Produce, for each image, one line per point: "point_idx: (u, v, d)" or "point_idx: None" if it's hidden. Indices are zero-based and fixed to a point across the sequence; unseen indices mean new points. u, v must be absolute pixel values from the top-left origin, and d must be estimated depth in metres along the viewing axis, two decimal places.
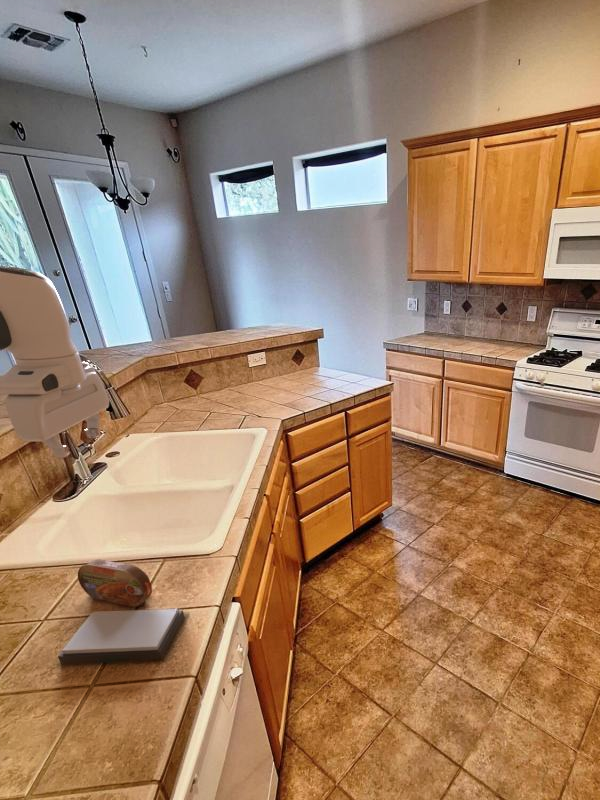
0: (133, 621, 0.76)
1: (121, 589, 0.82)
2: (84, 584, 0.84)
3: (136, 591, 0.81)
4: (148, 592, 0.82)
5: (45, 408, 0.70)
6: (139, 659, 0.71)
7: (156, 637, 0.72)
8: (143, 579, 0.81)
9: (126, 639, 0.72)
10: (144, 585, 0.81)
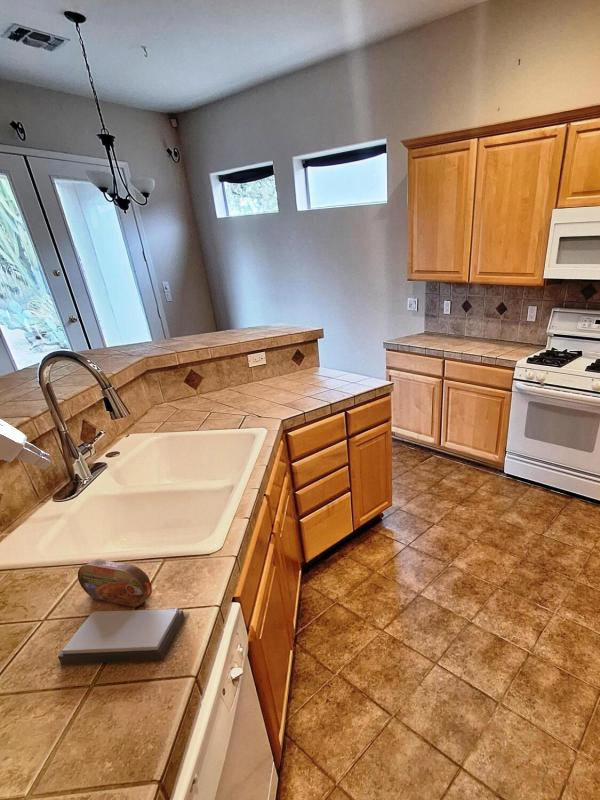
0: (133, 621, 0.76)
1: (121, 589, 0.82)
2: (84, 584, 0.84)
3: (136, 591, 0.81)
4: (148, 592, 0.82)
5: None
6: (139, 659, 0.71)
7: (156, 637, 0.72)
8: (143, 579, 0.81)
9: (126, 639, 0.72)
10: (144, 585, 0.81)
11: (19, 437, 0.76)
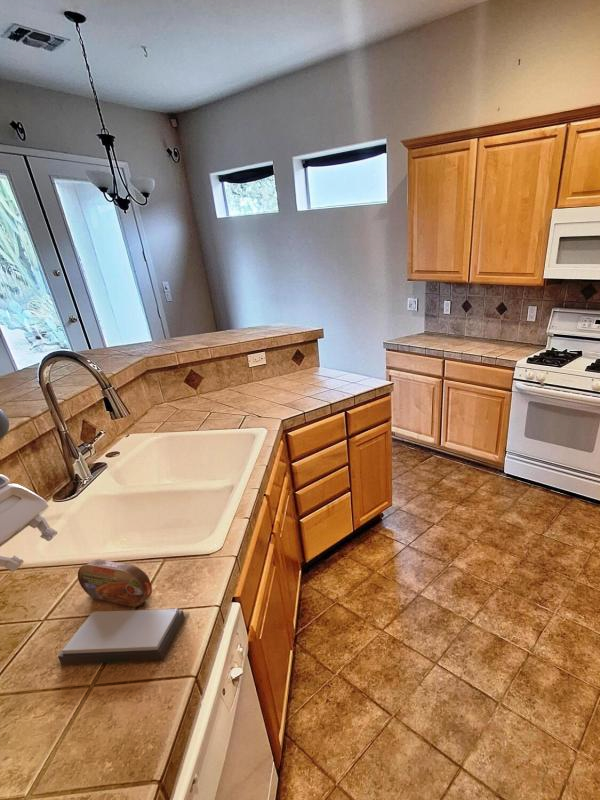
0: (133, 621, 0.76)
1: (121, 589, 0.82)
2: (84, 584, 0.84)
3: (136, 591, 0.81)
4: (148, 592, 0.82)
5: None
6: (139, 659, 0.71)
7: (156, 637, 0.72)
8: (143, 579, 0.81)
9: (126, 639, 0.72)
10: (144, 585, 0.81)
11: (2, 531, 0.75)
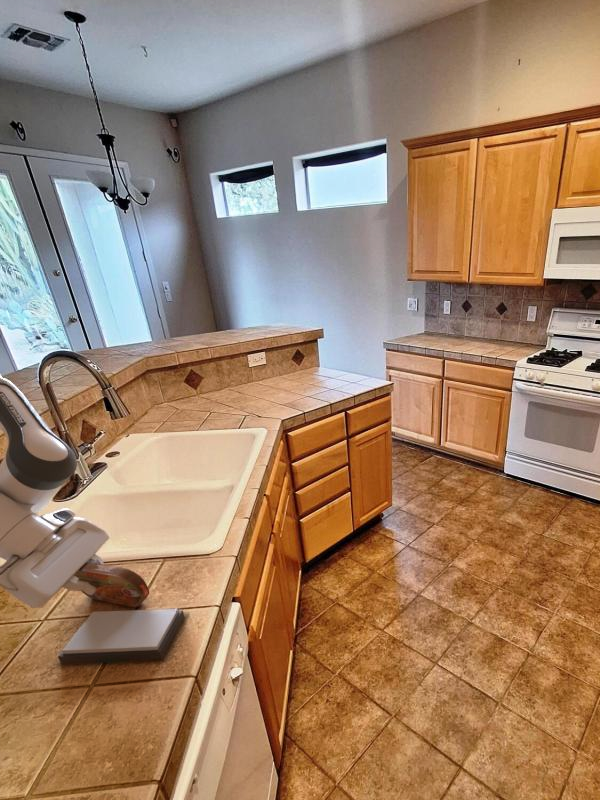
0: (133, 621, 0.76)
1: (118, 591, 0.81)
2: None
3: (133, 593, 0.81)
4: (145, 593, 0.81)
5: None
6: (139, 659, 0.71)
7: (156, 637, 0.72)
8: (138, 582, 0.80)
9: (126, 639, 0.72)
10: (139, 588, 0.80)
11: (73, 565, 0.79)
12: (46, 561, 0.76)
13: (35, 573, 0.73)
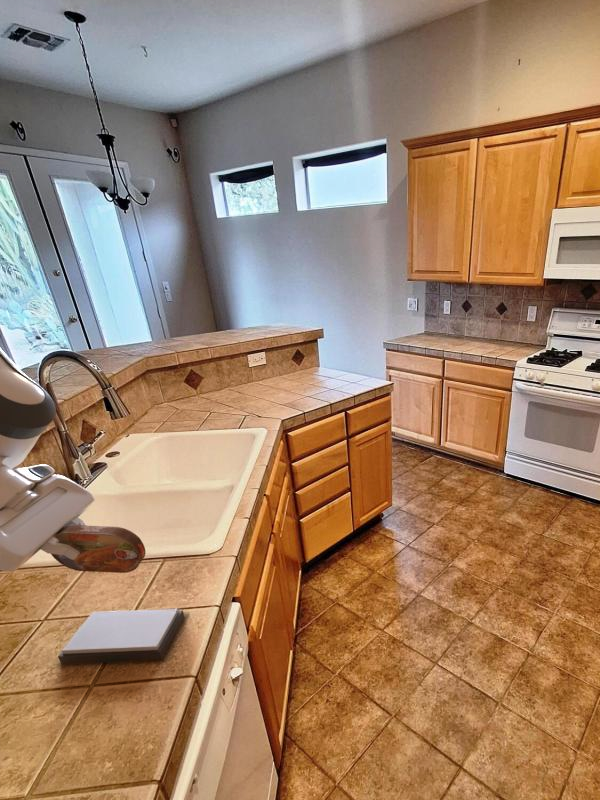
0: (133, 621, 0.76)
1: (108, 555, 0.72)
2: (57, 555, 0.73)
3: (128, 554, 0.72)
4: (142, 554, 0.73)
5: None
6: (139, 659, 0.71)
7: (156, 637, 0.72)
8: (135, 541, 0.72)
9: (126, 639, 0.72)
10: (137, 548, 0.72)
11: (51, 526, 0.69)
12: (18, 519, 0.66)
13: (6, 532, 0.63)
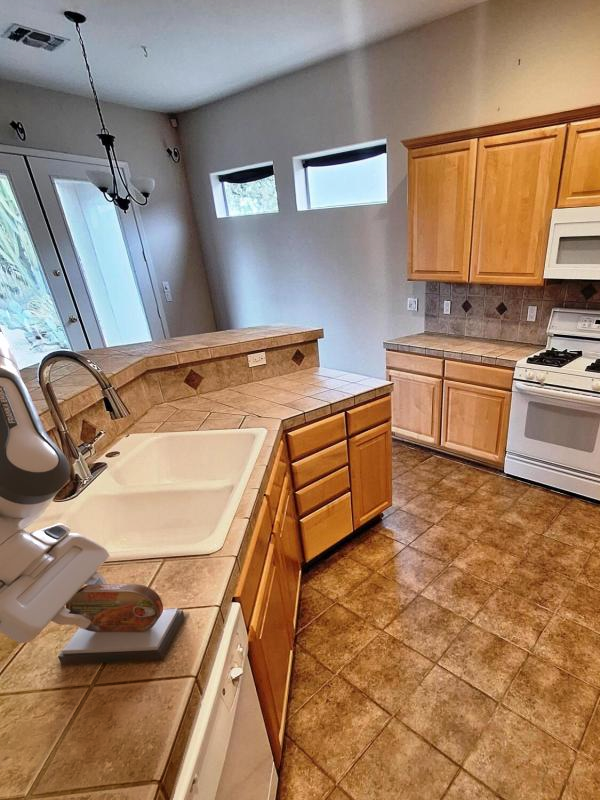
0: None
1: (126, 613, 0.72)
2: None
3: (146, 612, 0.72)
4: (160, 611, 0.73)
5: None
6: (139, 659, 0.71)
7: (156, 637, 0.72)
8: (154, 597, 0.72)
9: (126, 639, 0.72)
10: (156, 604, 0.72)
11: (67, 591, 0.68)
12: (35, 586, 0.65)
13: (23, 602, 0.62)
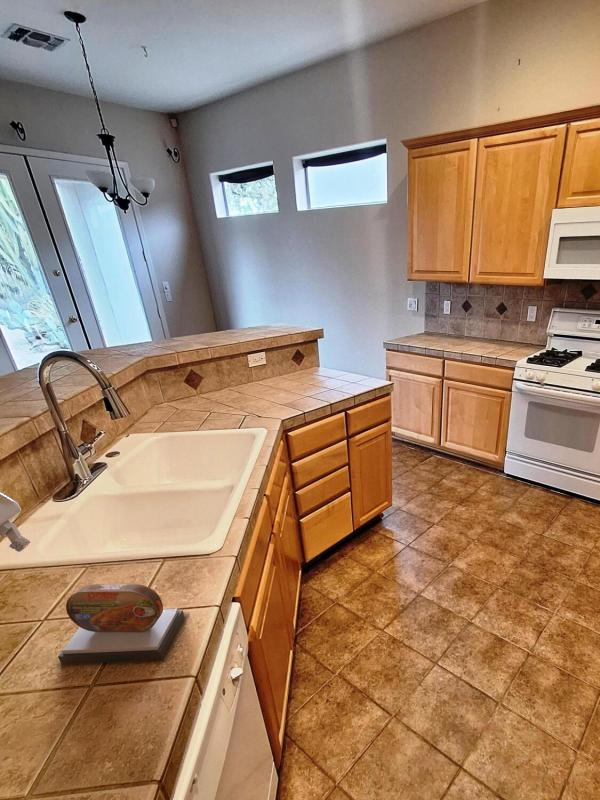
0: None
1: (126, 613, 0.72)
2: (74, 615, 0.72)
3: (146, 612, 0.72)
4: (160, 611, 0.73)
5: None
6: (139, 659, 0.71)
7: (156, 637, 0.72)
8: (154, 597, 0.72)
9: (126, 639, 0.72)
10: (156, 604, 0.72)
11: None
12: None
13: None
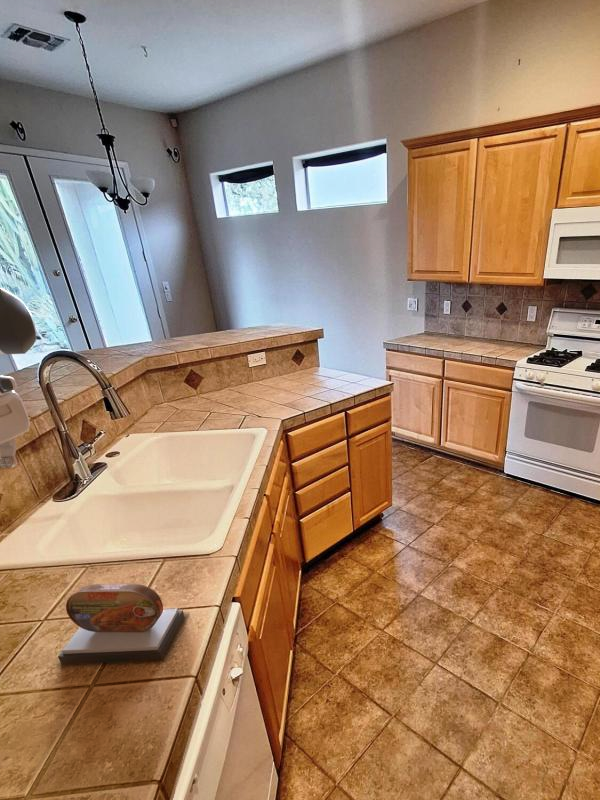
0: None
1: (126, 613, 0.72)
2: (74, 615, 0.72)
3: (146, 612, 0.72)
4: (160, 611, 0.73)
5: None
6: (139, 659, 0.71)
7: (156, 637, 0.72)
8: (154, 597, 0.72)
9: (126, 639, 0.72)
10: (156, 604, 0.72)
11: None
12: None
13: None
